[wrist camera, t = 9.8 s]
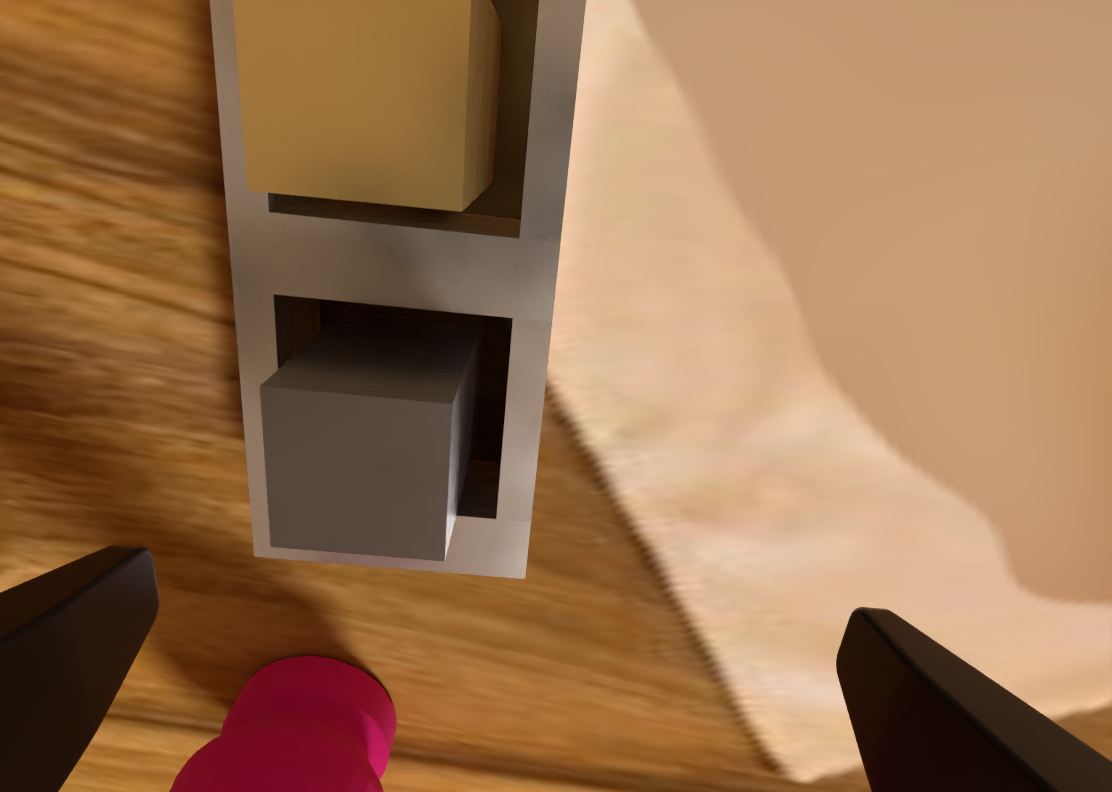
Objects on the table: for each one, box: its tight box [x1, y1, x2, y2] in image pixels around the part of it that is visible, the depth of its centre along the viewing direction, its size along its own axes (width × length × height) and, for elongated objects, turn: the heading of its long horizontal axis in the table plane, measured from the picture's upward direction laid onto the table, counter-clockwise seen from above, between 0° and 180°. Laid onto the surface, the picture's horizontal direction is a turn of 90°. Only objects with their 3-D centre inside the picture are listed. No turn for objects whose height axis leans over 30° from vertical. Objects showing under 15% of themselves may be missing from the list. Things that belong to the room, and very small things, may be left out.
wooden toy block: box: [233, 0, 502, 212], centre depth 15 cm, size 4×4×7 cm
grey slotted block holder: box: [210, 0, 586, 579], centre depth 16 cm, size 18×8×7 cm, turn 174°
